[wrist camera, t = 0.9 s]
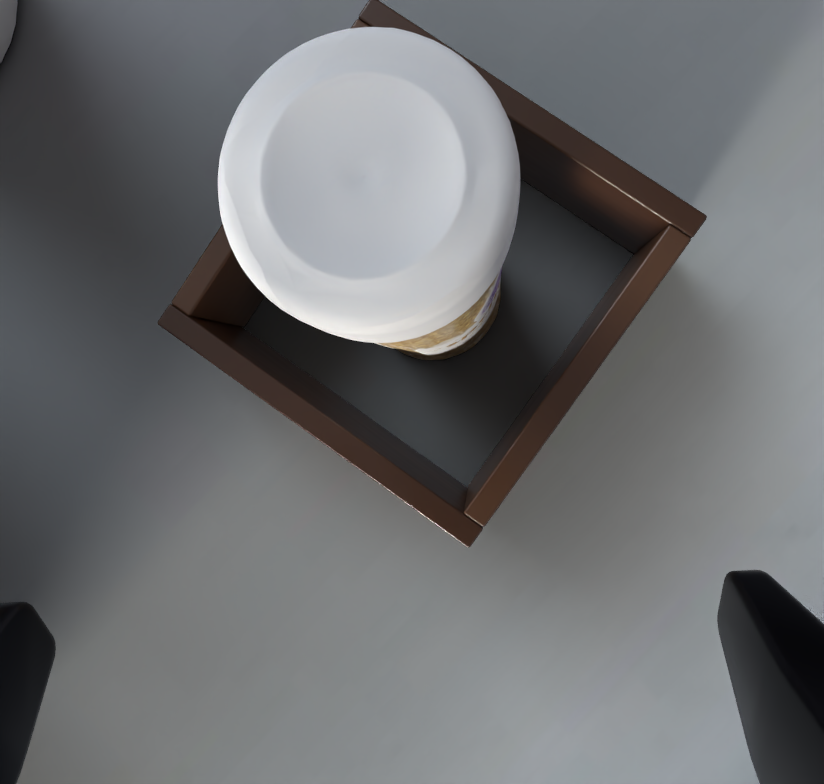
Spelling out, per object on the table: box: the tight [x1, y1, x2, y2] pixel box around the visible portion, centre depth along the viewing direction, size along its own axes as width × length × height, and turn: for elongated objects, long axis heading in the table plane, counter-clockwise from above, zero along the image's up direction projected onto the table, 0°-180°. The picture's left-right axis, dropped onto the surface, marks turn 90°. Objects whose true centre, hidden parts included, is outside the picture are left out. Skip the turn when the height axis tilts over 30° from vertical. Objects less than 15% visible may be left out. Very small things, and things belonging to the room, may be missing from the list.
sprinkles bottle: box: [218, 27, 520, 360], centre depth 16 cm, size 5×5×14 cm
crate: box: [158, 0, 707, 548], centre depth 21 cm, size 11×11×4 cm
